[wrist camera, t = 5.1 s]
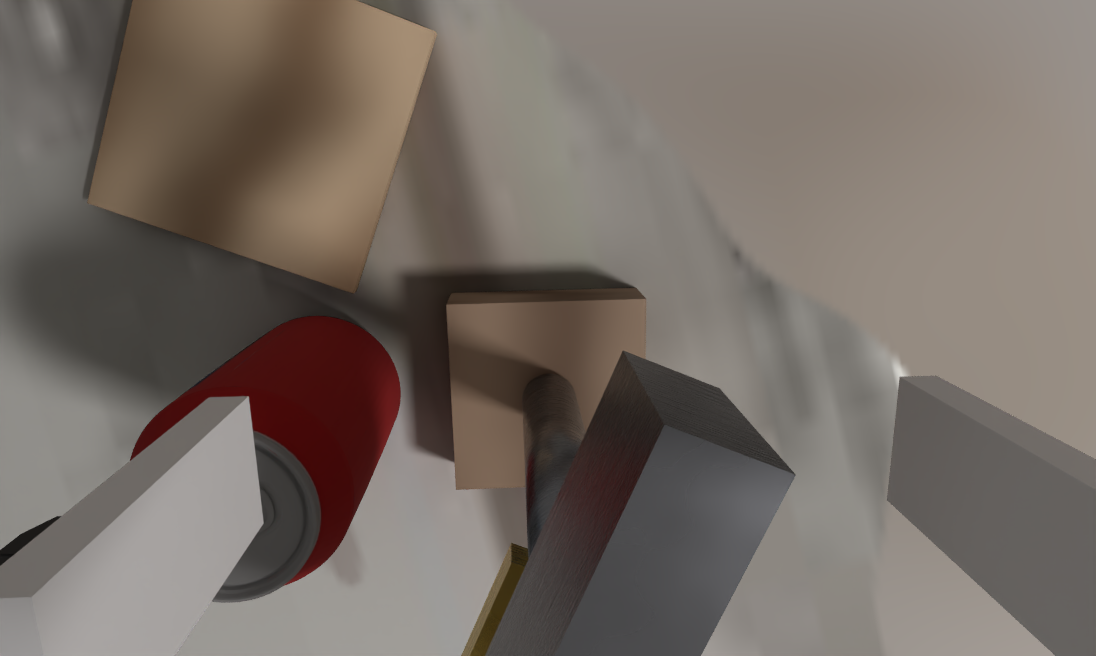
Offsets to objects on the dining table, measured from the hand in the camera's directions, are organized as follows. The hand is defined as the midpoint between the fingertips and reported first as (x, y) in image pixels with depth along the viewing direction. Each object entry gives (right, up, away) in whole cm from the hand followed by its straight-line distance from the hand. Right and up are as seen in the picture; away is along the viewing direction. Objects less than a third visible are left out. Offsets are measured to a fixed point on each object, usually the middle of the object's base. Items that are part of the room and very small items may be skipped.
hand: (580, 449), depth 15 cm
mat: (-12, +11, +14) cm, 22 cm away
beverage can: (-10, 0, +17) cm, 20 cm away
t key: (-2, -3, +15) cm, 16 cm away
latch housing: (-1, 0, +18) cm, 18 cm away
